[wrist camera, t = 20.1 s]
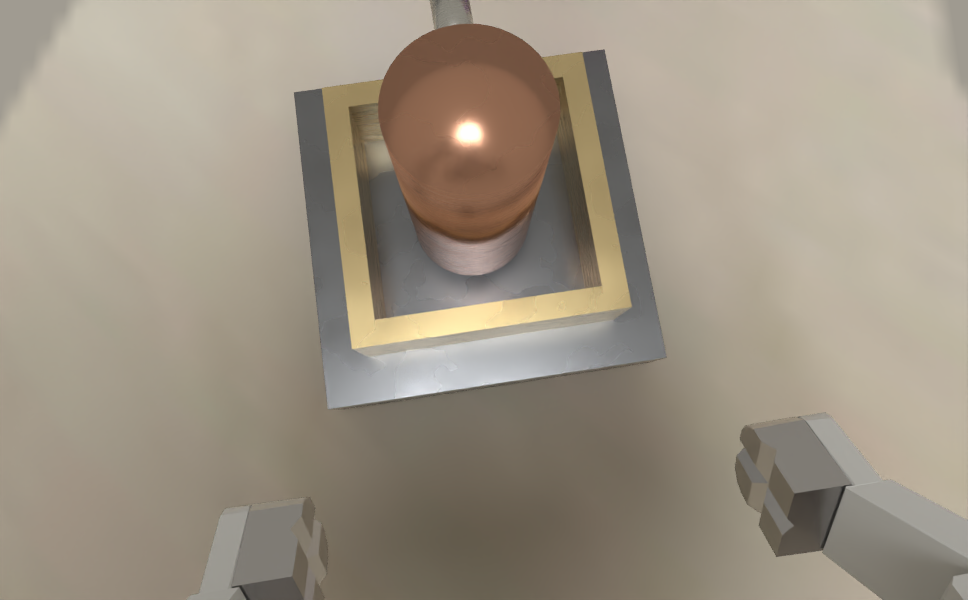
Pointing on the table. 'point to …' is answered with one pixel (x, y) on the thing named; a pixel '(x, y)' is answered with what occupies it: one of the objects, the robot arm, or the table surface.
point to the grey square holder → (474, 298)
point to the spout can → (469, 137)
